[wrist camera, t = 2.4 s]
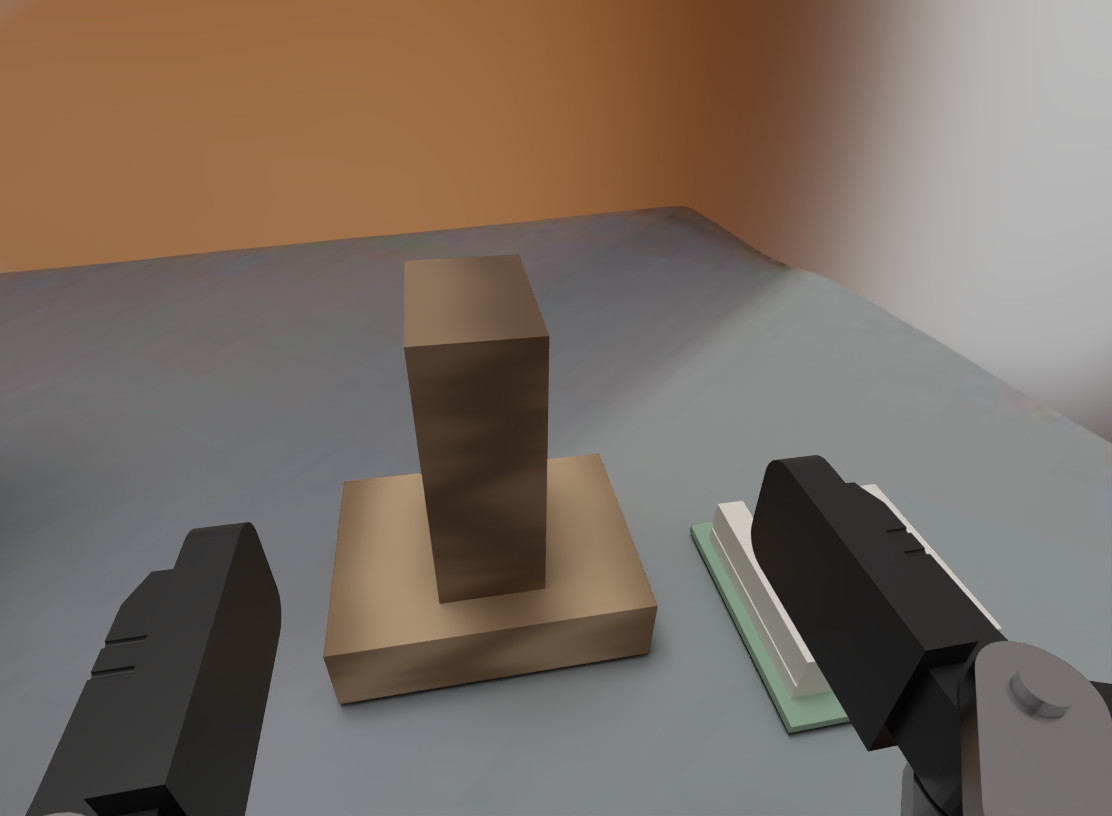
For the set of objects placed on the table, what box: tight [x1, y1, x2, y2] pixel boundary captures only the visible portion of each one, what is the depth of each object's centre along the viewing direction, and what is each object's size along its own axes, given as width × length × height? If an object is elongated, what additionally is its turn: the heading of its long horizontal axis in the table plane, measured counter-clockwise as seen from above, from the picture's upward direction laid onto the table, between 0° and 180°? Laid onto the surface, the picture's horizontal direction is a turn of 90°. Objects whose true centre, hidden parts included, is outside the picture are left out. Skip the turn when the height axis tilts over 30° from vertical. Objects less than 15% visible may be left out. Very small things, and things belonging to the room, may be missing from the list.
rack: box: [709, 484, 1002, 699], centre depth 27 cm, size 8×8×2 cm
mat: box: [690, 517, 850, 733], centre depth 27 cm, size 9×10×1 cm
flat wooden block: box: [323, 454, 657, 704], centre depth 27 cm, size 12×9×3 cm
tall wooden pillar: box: [404, 255, 549, 604], centre depth 23 cm, size 4×6×11 cm, turn 11°
